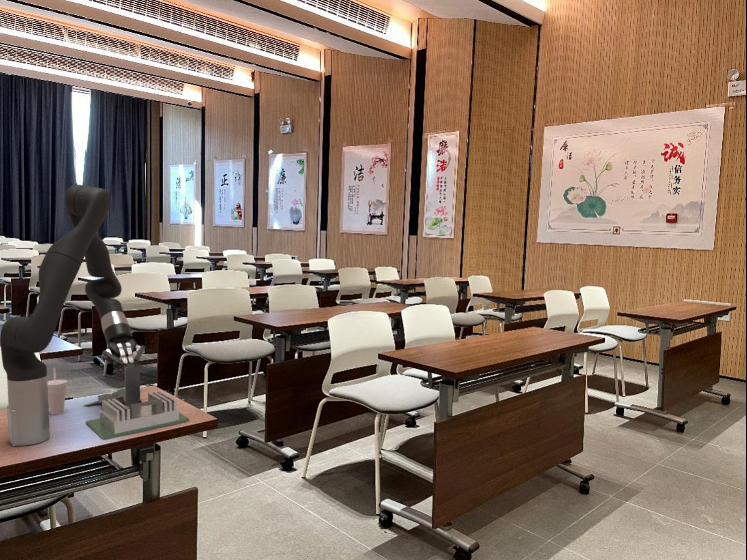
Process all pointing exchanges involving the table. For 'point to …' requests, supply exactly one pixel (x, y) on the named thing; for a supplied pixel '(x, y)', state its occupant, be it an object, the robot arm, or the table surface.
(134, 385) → the dark gray rectangular plate
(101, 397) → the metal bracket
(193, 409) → the table surface
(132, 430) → the heatsink
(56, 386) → the smoothie
